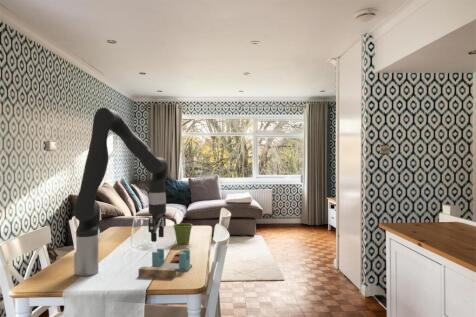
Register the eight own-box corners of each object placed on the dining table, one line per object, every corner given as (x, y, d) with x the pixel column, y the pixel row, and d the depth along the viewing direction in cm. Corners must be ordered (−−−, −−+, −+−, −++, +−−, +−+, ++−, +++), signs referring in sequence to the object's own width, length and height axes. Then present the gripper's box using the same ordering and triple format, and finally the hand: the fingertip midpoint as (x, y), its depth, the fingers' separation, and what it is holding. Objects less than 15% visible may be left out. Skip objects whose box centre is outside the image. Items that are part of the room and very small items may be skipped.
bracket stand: (149, 269, 168) (149, 252, 168) (156, 264, 176) (156, 248, 176) (187, 271, 166) (186, 254, 166) (192, 266, 173) (192, 249, 173)
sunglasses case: (174, 254, 195) (180, 243, 195) (185, 260, 195) (191, 250, 195) (169, 264, 177) (176, 252, 177) (181, 271, 177) (188, 259, 177)
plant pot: (194, 241, 225) (194, 223, 225) (190, 245, 213) (190, 226, 213) (176, 240, 226) (175, 222, 226) (170, 245, 215) (170, 226, 215)
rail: (138, 277, 159) (138, 269, 159) (141, 274, 162) (141, 266, 162) (173, 278, 157) (173, 270, 157) (176, 276, 160) (176, 268, 160)
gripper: (155, 200, 167) (155, 235, 167) (142, 204, 153) (142, 242, 153) (170, 200, 166) (171, 236, 166) (159, 204, 152) (159, 243, 152)
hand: (157, 239), depth 160 cm, fingers open, 8 cm apart
